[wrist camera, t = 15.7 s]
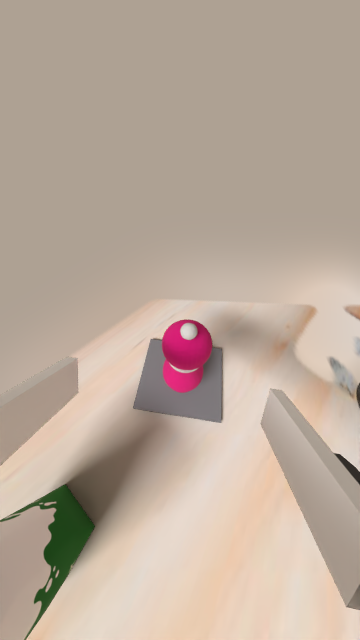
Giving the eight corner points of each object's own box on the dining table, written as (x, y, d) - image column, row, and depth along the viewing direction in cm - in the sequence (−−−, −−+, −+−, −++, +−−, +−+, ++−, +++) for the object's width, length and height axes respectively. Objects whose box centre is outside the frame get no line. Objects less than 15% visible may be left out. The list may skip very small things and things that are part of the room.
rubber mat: (221, 350, 37) (221, 348, 37) (220, 422, 30) (221, 422, 29) (151, 340, 38) (150, 338, 38) (133, 408, 31) (132, 408, 30)
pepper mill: (165, 358, 35) (156, 297, 18) (199, 359, 35) (222, 299, 18) (162, 395, 31) (148, 361, 14) (200, 396, 31) (230, 364, 15)
